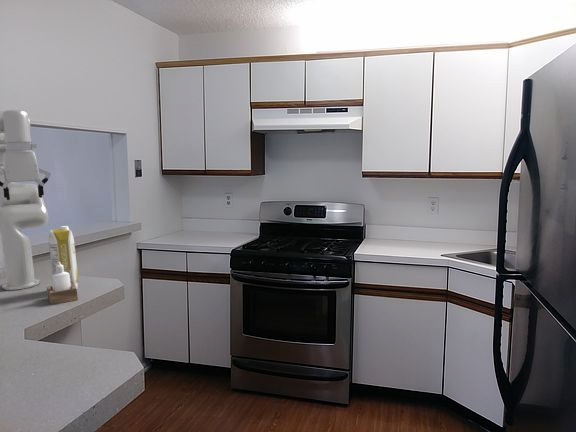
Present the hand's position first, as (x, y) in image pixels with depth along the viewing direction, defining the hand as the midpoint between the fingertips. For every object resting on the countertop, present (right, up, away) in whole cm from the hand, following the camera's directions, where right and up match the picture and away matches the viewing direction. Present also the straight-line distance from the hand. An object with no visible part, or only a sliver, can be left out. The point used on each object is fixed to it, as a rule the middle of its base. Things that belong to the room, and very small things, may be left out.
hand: (24, 198), depth 157 cm
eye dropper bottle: (+11, -34, +3) cm, 36 cm away
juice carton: (+8, -34, +14) cm, 37 cm away
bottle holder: (+11, -35, +3) cm, 37 cm away
